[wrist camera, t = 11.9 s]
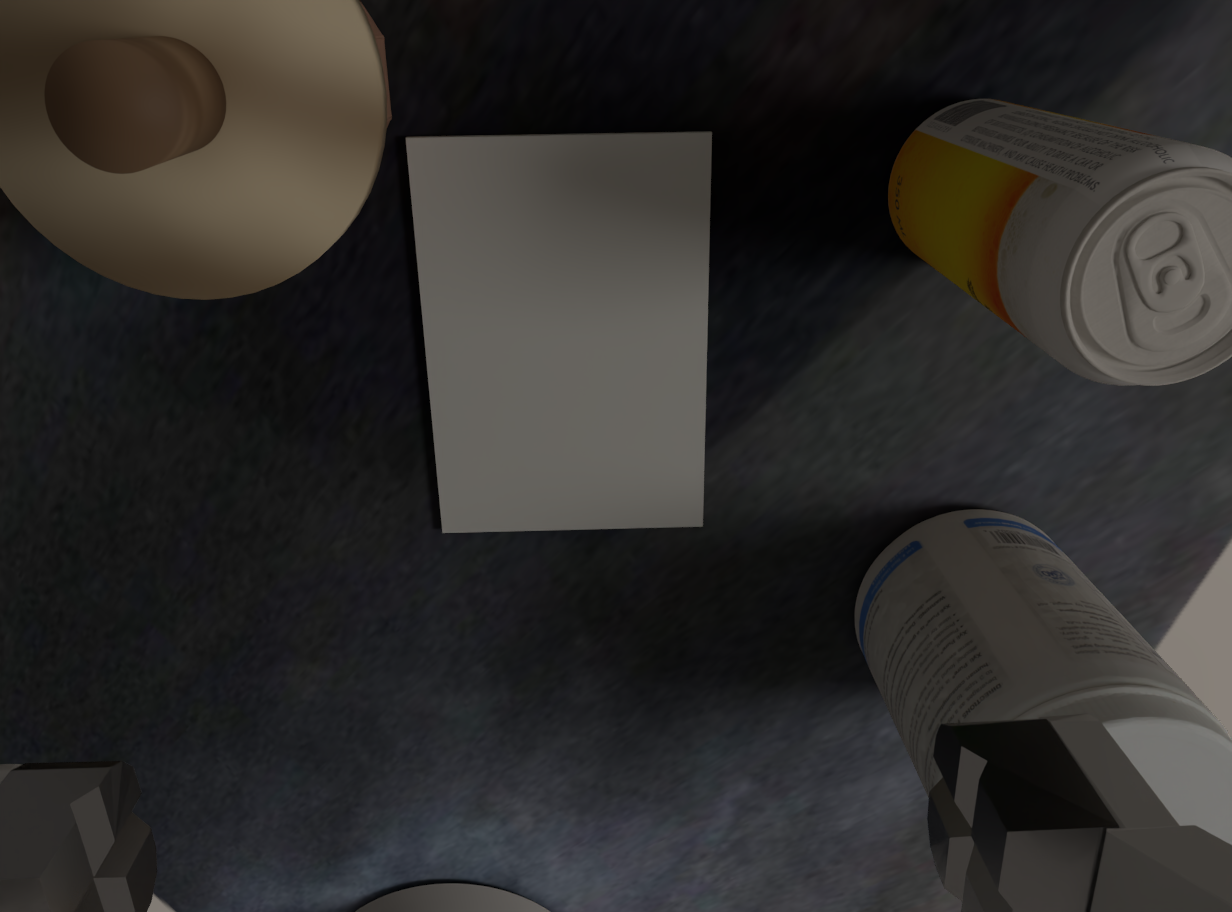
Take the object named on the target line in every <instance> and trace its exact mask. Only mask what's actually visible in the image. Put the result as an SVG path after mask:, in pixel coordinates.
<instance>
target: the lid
mask: <svg viewBox="0 0 1232 912" xmlns="http://www.w3.org/2000/svg"><path fill="white" fill-rule="evenodd" d="M386 126H387V95H386V85H385V79H384V72H383V66H382V61H381V57H380V54H379V50H378V47H377V43H376V40H375V36H374V33H373V31H372V28H371V26H370V24H369V21H368V19H367V16H366V14H365V12H364V9H363V7H362V5H361V3H360V1H359V0H0V188H1V189H2V190H3V192H4V193H5V194H6V196H7V197H8V198H9V200H10V201H11V202H12V204H13V205H14V206H15V207H16V208H17V209H18V210H19V211H20V213H21V214H22V215H23V216H24V217H25V218H26V219H27V220H28V221H29V222H30V223H31V224H32V226H33V227H34V228H36V229H37V230H38V231H39V232H40V233H41V234H42V235H44V236H45V237H46V238H47V239H48V240H49V241H50V242H52V243H53V244H54V245H55V246H56V247H58V248H59V249H61V250H62V251H63V252H65V253H66V254H68V255H69V256H71V257H72V258H73V259H75V260H76V261H78V262H79V263H81V264H83V265H85V266H86V267H88V268H90V269H92V270H94V271H95V272H97V273H99V274H101V275H103V276H105V277H107V278H109V279H112V280H114V281H117V282H119V283H121V284H124V285H126V286H128V287H132V288H135V289H139V290H142V291H145V292H149V293H152V294H157V295H163V296H169V297H174V298H180V299H203V300H208V299H220V298H231V297H236V296H240V295H245V294H250V293H254V292H257V291H260V290H263V289H265V288H268V287H271V286H274V285H276V284H279V283H281V282H282V281H284V280H286V279H288V278H290V277H292V276H294V275H295V274H297V273H299V272H300V271H302V270H303V269H305V268H306V267H307V266H309V265H310V264H311V263H313V262H314V261H315V260H317V259H318V258H319V257H320V256H321V255H322V254H323V253H325V252H326V251H327V250H328V249H329V248H330V247H331V246H332V245H333V244H334V243H335V242H336V241H337V240H338V239H339V238H340V237H341V236H342V235H343V234H344V233H345V231H346V230H347V229H348V227H349V226H350V225H351V223H352V222H353V221H354V219H355V218H356V217H357V215H358V214H359V212H360V210H361V209H362V207H363V205H364V203H365V201H366V199H367V198H368V196H369V194H370V192H371V189H372V187H373V184H374V181H375V179H376V176H377V173H378V171H379V167H380V163H381V159H382V154H383V150H384V145H385V137H386Z"/></svg>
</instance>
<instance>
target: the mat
mask: <svg viewBox="0 0 1232 912" xmlns="http://www.w3.org/2000/svg"><path fill="white" fill-rule="evenodd" d="M406 147H407V158H408V169H409V180H410V190H411V201H412V212H413V223H414V233H415V244H416V255H417V265H418V276H419V287H420V298H421V308H422V319H423V330H424V341H425V351H426V362H427V373H428V384H429V394H430V405H431V416H432V426H433V437H434V448H435V459H436V469H437V480H438V491H439V502H440V512H441V523H442V533H462V532H502V531H543V530H583V529H624V528H664V527H703V496H704V453H705V411H706V368H707V325H708V283H709V240H710V198H711V155H712V132H711V131H705V132H647V133H589V134H531V135H472V136H414V137H406Z"/></svg>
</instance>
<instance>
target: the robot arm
mask: <svg viewBox="0 0 1232 912" xmlns="http://www.w3.org/2000/svg"><path fill="white" fill-rule="evenodd" d="M933 757H934V759H935V761H936V763H937V766H938V768H939V770H940V772H941V774H942V776H943V777H942V779H941V780H940V781H939V782H938V783H937V784H936V785H935V786H934V787H933V788H932V789H931V790H930V792H929V803H928V816H927V820H928V830H929V840H930V848H931V851H932V855H933V859H934V863H935V866H936V869H937V872H938V874H939V877H940V879H941V882H942V884H943V887H944V888H945V889H946V890H947V891H949V892H950V893H951V894H953V895H954V896H955V897H957V898H958V899H960V900H961V901H962V909H961V912H1232V845H1231V844H1229V843H1227V842H1225V841H1223V840H1222V839H1220V838H1218V837H1216V836H1214V835H1212V834H1211V833H1209V832H1207V831H1205V830H1203V829H1201V828H1200V827H1198V826H1196V825H1187V826H1180V825H1179V824H1178V823H1177V821H1176V820H1175V819H1174V817H1173V816H1172V815H1171V813H1170V812H1169V811H1168V809H1167V808H1166V807H1165V806H1164V804H1163V803H1162V802H1161V800H1160V799H1159V798H1158V796H1157V795H1156V794H1155V792H1154V791H1153V790H1152V789H1151V787H1150V786H1149V785H1148V783H1147V782H1146V781H1145V779H1144V778H1143V777H1142V775H1141V774H1140V773H1139V771H1138V770H1137V769H1136V768H1135V766H1134V765H1133V764H1132V762H1131V761H1130V760H1129V758H1128V757H1127V756H1126V754H1125V753H1124V752H1123V750H1122V749H1121V748H1120V747H1119V745H1118V744H1117V743H1116V741H1115V740H1114V739H1113V737H1112V736H1111V735H1110V733H1109V732H1108V731H1107V729H1106V728H1105V727H1104V726H1103V724H1102V723H1101V722H1100V720H1099V719H1097V718H1095V717H1094V716H1092V715H1090V714H1076V715H1062V716H1048V717H1039V718H1038V719H1023V720H1004V721H984V722H965V723H945V724H941V725H940V727H939V729H938V732H937V734H936V738H935V746H934V754H933ZM141 794H142V792H141V789H140V786H139V783H138V780H137V776H136V773H135V770H134V767H133V766H131V765H129V764H127V763H125V762H123V761H97V762H54V763H25V764H23V765H21V764H0V912H147V910H148V908H149V906H150V903H151V900H152V895H153V890H154V885H155V880H156V876H157V853H156V845H155V841H154V837H153V833H152V829H151V828H150V827H149V826H148V825H147V824H145V823H144V822H143V821H142V820H141V819H140V818H138V817H137V816H136V815H135V814H134V813H132V810H133V808H134V806H135V805H136V803H137V801H138V799H139V798H140V796H141ZM355 912H550V911H548V910H547V909H545V908H544V907H542V906H540V905H538V904H537V903H535V902H533V901H531V900H528V899H526V898H524V897H521V896H519V895H516V894H513V893H510V892H507V891H504V890H500V889H496V888H491V887H486V886H480V885H472V884H457V883H445V884H431V885H423V886H417V887H412V888H408V889H403V890H400V891H397V892H393V893H391V894H388V895H385V896H383V897H380V898H378V899H376V900H374V901H372V902H370V903H368V904H366V905H365V906H363V907H361V908H360V909H358V910H357V911H355Z"/></svg>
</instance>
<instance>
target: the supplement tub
mask: <svg viewBox="0 0 1232 912" xmlns="http://www.w3.org/2000/svg"><path fill="white" fill-rule="evenodd" d="M855 630H856V635H857V640H858V643H859V646H860V648H861V651H862V653H863V655H864V658H865V660H866V662H867V665H868V667H869V669H870V671H871V673H872V676H873V678H874V680H875V682H876V684H877V686H878V689H879V691H880V693H881V695H882V697H883V699H884V701H885V704H886V706H887V708H888V710H889V713H890V715H891V717H892V719H893V721H894V723H895V726H896V728H897V730H898V732H899V734H900V736H901V738H902V741H903V743H904V745H905V747H906V749H907V751H908V754H909V756H910V758H911V760H912V762H913V764H914V767H915V769H916V771H917V773H918V775H919V778H920V780H921V782H922V784H923V786H924V788H925V791H926V793H927V795H928V797H929V792H930V790H931V789H932V788H933V787H934V786H935V785H936V784H937V783H938V782H939V781H940V780H941V779H942V777H943V776H942V774H941V772H940V770H939V768H938V766H937V763H936V761H935V759H934V757H933V754H934V746H935V738H936V734H937V732H938V729H939V727H940V725H941V724H945V723H965V722H984V721H1004V720H1023V719H1038V718H1039V717H1048V716H1062V715H1076V714H1090V715H1092V716H1094V717H1095V718H1097V719H1099V720H1100V722H1101V723H1102V724H1103V726H1104V727H1105V728H1106V729H1107V731H1108V732H1109V733H1110V735H1111V736H1112V737H1113V739H1114V740H1115V741H1116V743H1117V744H1118V745H1119V747H1120V748H1121V749H1122V750H1123V752H1124V753H1125V754H1126V756H1127V757H1128V758H1129V760H1130V761H1131V762H1132V764H1133V765H1134V766H1135V768H1136V769H1137V770H1138V771H1139V773H1140V774H1141V775H1142V777H1143V778H1144V779H1145V781H1146V782H1147V783H1148V785H1149V786H1150V787H1151V789H1152V790H1153V791H1154V792H1155V794H1156V795H1157V796H1158V798H1159V799H1160V800H1161V802H1162V803H1163V804H1164V806H1165V807H1166V808H1167V809H1168V811H1169V812H1170V813H1171V815H1172V816H1173V817H1174V819H1175V820H1176V821H1177V823H1178V824H1179V825H1180V826H1187V825H1196V826H1198V827H1200V828H1201V829H1203V830H1205V831H1207V832H1209V833H1211V834H1212V835H1214V836H1216V837H1218V838H1220V839H1222V840H1223V841H1225V842H1227V843H1229V844H1231V845H1232V738H1231V736H1230V735H1229V733H1228V731H1227V730H1226V728H1225V727H1224V726H1223V725H1222V723H1221V722H1220V721H1219V720H1218V719H1217V717H1215V716H1214V715H1213V714H1212V712H1211V711H1210V710H1209V709H1208V708H1207V707H1206V706H1205V705H1204V703H1203V702H1202V701H1201V700H1200V699H1199V698H1198V697H1197V696H1196V695H1195V694H1194V692H1193V691H1192V690H1191V689H1190V688H1189V687H1188V686H1187V685H1186V684H1185V683H1184V682H1183V680H1182V679H1181V678H1180V677H1179V676H1178V675H1177V674H1176V673H1175V672H1174V671H1173V670H1172V668H1171V667H1170V666H1169V665H1168V664H1167V663H1166V662H1165V661H1164V660H1163V659H1162V658H1161V657H1160V656H1159V655H1158V654H1157V652H1156V651H1155V650H1154V649H1153V648H1152V647H1151V646H1150V645H1149V644H1148V643H1147V642H1146V641H1145V640H1144V639H1143V637H1142V636H1141V635H1140V634H1139V633H1138V632H1137V631H1136V630H1135V629H1134V628H1133V627H1132V626H1131V624H1130V623H1129V622H1128V621H1127V620H1126V619H1125V618H1124V617H1123V616H1122V615H1121V614H1120V613H1119V612H1118V610H1117V609H1116V608H1115V607H1114V606H1113V605H1112V604H1111V603H1110V602H1109V601H1108V600H1107V599H1106V597H1105V596H1104V595H1103V594H1102V593H1101V592H1100V591H1099V590H1098V589H1097V588H1096V587H1095V586H1094V585H1093V584H1092V583H1091V582H1090V581H1089V579H1088V578H1087V577H1086V576H1085V575H1084V574H1083V573H1082V572H1081V571H1080V570H1079V569H1078V568H1077V566H1076V565H1075V564H1074V563H1073V562H1072V561H1071V560H1070V559H1069V558H1068V557H1067V556H1066V555H1065V554H1064V553H1063V551H1062V550H1061V549H1060V548H1059V547H1058V546H1057V545H1056V544H1055V543H1054V542H1053V541H1052V540H1051V539H1050V538H1049V537H1048V536H1047V535H1046V534H1045V533H1044V532H1043V531H1041V530H1040V529H1039V528H1037V527H1036V526H1035V525H1033V524H1031V523H1030V522H1028V521H1026V520H1024V519H1022V518H1020V517H1017V516H1014V515H1011V514H1008V513H1004V512H999V511H994V510H984V509H970V510H960V511H953V512H949V513H945V514H941V515H938V516H935V517H933V518H930V519H927V520H925V521H923V522H920V523H918V524H917V525H915V526H913V527H912V528H910V529H909V530H907V531H906V532H904V533H903V534H902V535H900V536H899V537H898V538H896V539H895V540H894V541H893V542H892V543H891V544H890V545H888V546H887V547H886V548H885V549H884V550H883V551H882V552H881V553H880V554H879V556H878V557H877V558H876V559H875V561H874V562H873V563H872V565H871V566H870V568H869V569H868V571H867V573H866V575H865V576H864V578H863V581H862V583H861V586H860V588H859V592H858V595H857V599H856V605H855Z"/></svg>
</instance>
